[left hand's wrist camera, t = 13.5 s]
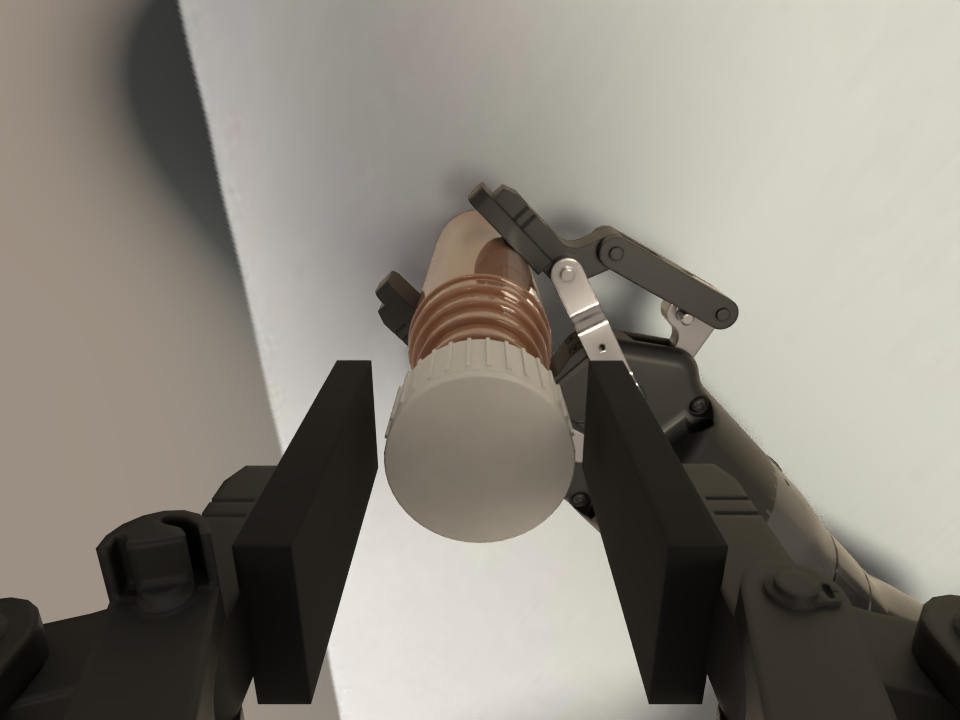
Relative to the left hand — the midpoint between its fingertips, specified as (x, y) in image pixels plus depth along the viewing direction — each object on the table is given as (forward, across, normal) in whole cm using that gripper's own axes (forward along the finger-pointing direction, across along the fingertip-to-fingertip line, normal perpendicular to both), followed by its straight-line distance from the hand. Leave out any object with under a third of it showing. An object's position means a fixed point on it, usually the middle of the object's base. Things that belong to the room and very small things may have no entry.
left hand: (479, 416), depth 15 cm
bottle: (+18, 0, 0) cm, 18 cm away
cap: (-2, 0, 0) cm, 2 cm away
